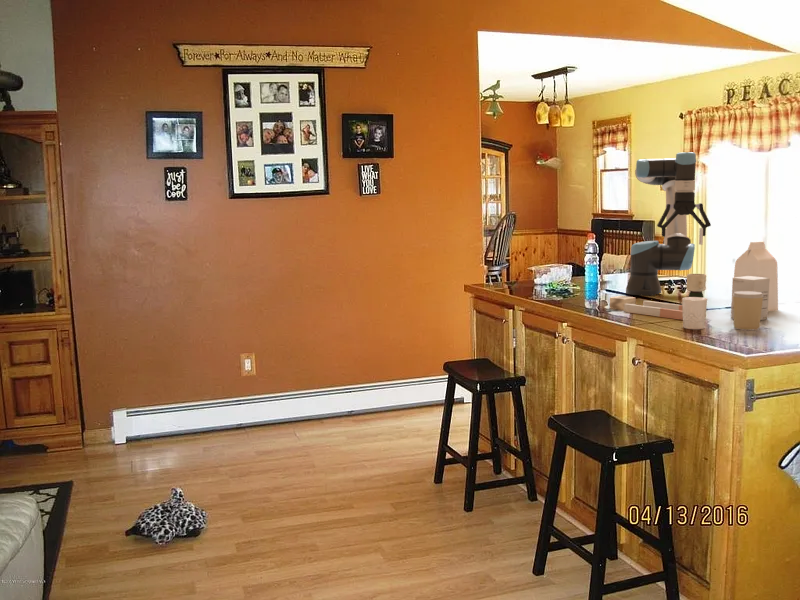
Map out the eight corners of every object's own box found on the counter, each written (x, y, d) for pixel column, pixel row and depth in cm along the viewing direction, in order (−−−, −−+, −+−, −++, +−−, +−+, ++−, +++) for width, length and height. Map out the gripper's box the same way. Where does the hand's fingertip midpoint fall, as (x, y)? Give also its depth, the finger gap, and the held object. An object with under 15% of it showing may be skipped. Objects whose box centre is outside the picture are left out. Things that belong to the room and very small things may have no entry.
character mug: (710, 309, 300) (712, 275, 298) (693, 309, 300) (694, 276, 298) (697, 304, 311) (699, 272, 309) (680, 305, 310) (681, 273, 308)
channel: (624, 311, 298) (624, 303, 298) (645, 308, 306) (645, 300, 305) (683, 320, 278) (683, 311, 277) (704, 315, 285) (705, 307, 285)
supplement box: (729, 318, 279) (731, 277, 277) (746, 316, 283) (747, 275, 281) (752, 322, 271) (753, 279, 269) (768, 319, 275) (770, 277, 273)
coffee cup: (760, 326, 263) (761, 291, 261) (763, 331, 254) (765, 294, 252) (730, 325, 266) (731, 290, 264) (732, 330, 257) (734, 294, 255)
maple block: (609, 308, 308) (609, 297, 307) (620, 306, 312) (620, 295, 311) (624, 310, 302) (624, 299, 302) (635, 308, 306) (635, 297, 306)
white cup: (677, 326, 266) (678, 297, 265) (699, 325, 267) (700, 296, 265) (687, 330, 258) (688, 300, 257) (710, 329, 259) (711, 299, 258)
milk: (756, 312, 289) (759, 243, 286) (730, 309, 299) (733, 241, 296) (778, 310, 295) (781, 241, 291) (752, 306, 305) (754, 240, 301)
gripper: (653, 192, 307) (652, 245, 310) (720, 191, 303) (717, 245, 307) (650, 192, 315) (649, 244, 318) (715, 190, 311) (713, 243, 314)
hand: (683, 244), depth 312 cm, fingers open, 13 cm apart
